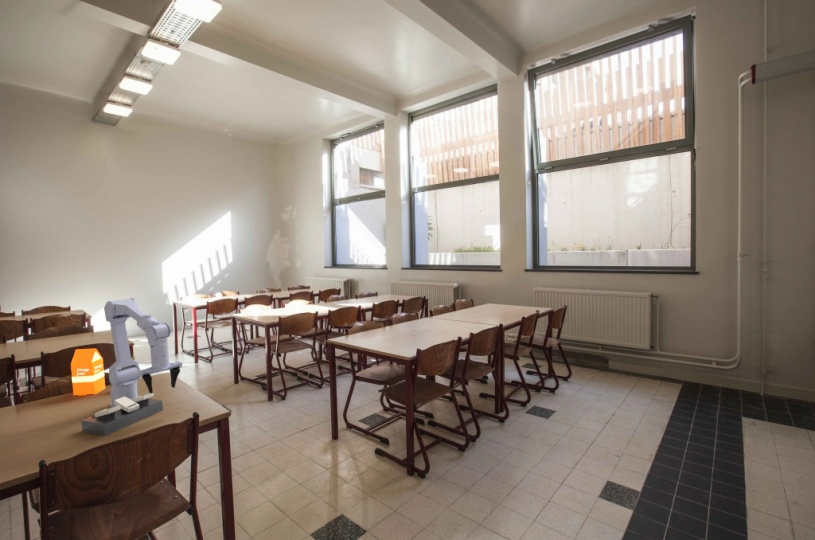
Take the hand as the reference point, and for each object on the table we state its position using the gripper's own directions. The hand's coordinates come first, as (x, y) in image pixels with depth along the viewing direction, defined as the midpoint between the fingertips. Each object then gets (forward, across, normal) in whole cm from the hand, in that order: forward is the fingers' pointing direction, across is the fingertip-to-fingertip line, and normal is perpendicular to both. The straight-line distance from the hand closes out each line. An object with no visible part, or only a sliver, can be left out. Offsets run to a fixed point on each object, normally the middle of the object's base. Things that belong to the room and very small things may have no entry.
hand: (162, 389), depth 155 cm
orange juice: (+10, -15, +55) cm, 58 cm away
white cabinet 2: (+4, -11, +5) cm, 13 cm away
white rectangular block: (+5, -5, +8) cm, 10 cm away
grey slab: (+10, -10, +7) cm, 16 cm away
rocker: (+4, -17, +3) cm, 18 cm away
